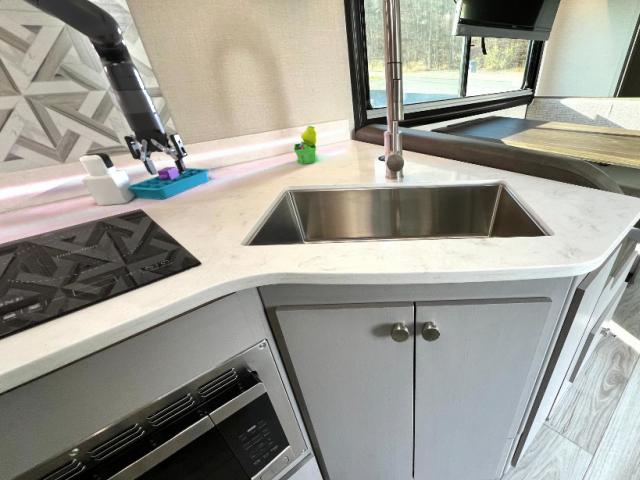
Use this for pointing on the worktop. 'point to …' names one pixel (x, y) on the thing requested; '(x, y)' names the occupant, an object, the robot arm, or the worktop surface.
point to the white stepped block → (106, 180)
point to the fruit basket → (307, 146)
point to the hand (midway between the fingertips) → (168, 173)
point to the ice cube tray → (170, 184)
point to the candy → (168, 173)
